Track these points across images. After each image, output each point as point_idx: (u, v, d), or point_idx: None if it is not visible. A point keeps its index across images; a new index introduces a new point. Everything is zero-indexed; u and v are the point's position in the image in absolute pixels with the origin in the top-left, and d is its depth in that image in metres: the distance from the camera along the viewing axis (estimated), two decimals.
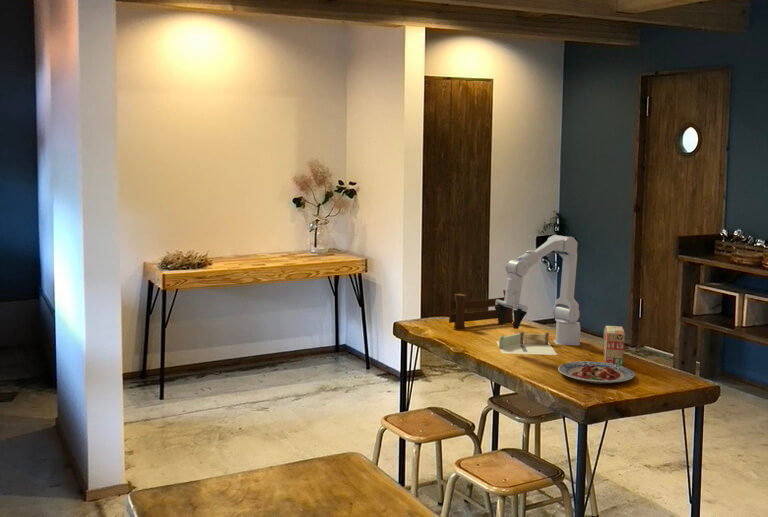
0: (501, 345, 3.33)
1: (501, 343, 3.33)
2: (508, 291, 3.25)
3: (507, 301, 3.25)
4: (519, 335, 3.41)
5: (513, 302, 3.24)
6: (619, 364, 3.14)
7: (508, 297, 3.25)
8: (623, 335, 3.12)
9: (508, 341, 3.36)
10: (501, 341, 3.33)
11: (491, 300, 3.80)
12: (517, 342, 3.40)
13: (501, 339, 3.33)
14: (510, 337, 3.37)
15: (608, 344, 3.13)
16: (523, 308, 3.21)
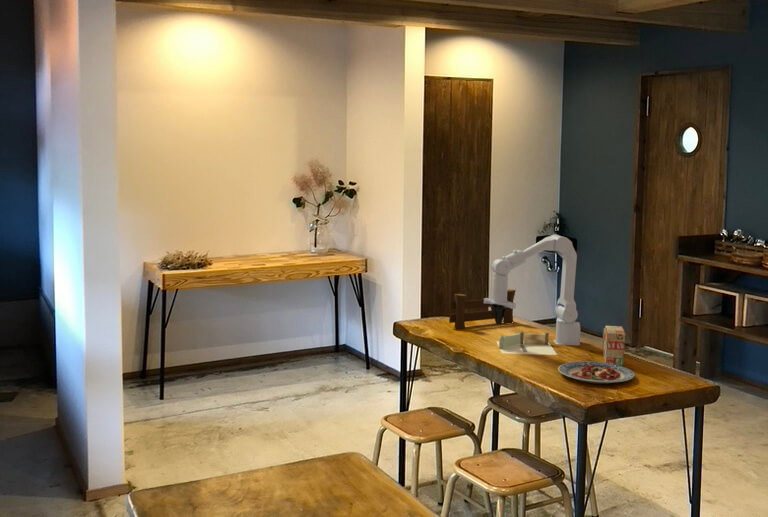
0: (501, 345, 3.33)
1: (501, 343, 3.33)
2: (495, 290, 3.36)
3: (495, 300, 3.36)
4: (519, 335, 3.41)
5: (501, 301, 3.36)
6: (619, 364, 3.14)
7: (496, 296, 3.36)
8: (623, 335, 3.12)
9: (508, 341, 3.36)
10: (501, 341, 3.33)
11: None
12: (517, 342, 3.40)
13: (501, 339, 3.33)
14: (510, 337, 3.37)
15: (608, 344, 3.14)
16: (511, 306, 3.33)
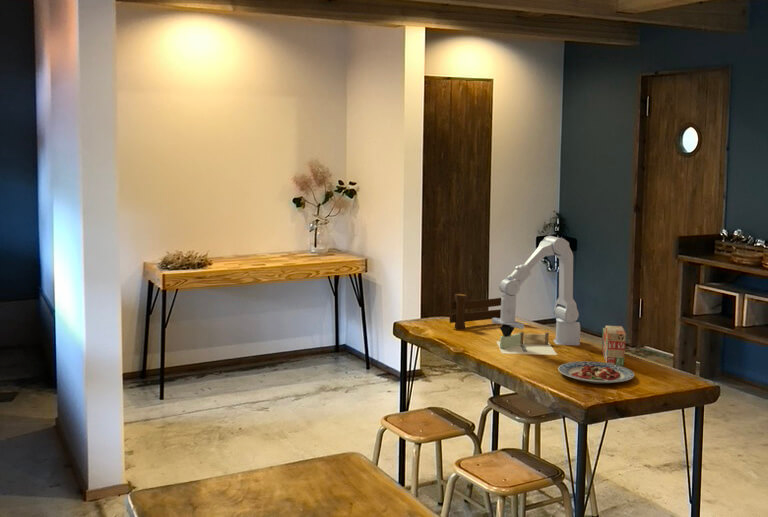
0: (502, 345, 3.33)
1: (502, 343, 3.33)
2: (503, 311, 3.34)
3: (503, 320, 3.34)
4: (519, 335, 3.40)
5: (509, 321, 3.34)
6: (620, 364, 3.14)
7: (504, 316, 3.34)
8: (624, 335, 3.12)
9: (509, 341, 3.36)
10: (502, 341, 3.33)
11: (491, 300, 3.80)
12: (517, 342, 3.40)
13: (502, 339, 3.32)
14: (511, 337, 3.36)
15: (609, 344, 3.14)
16: (520, 326, 3.31)
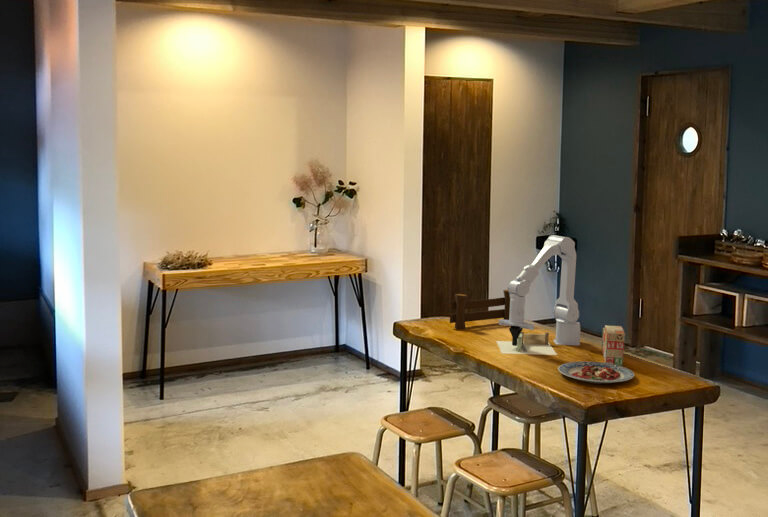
0: (520, 348, 3.30)
1: (520, 345, 3.30)
2: (513, 312, 3.31)
3: (513, 322, 3.32)
4: (522, 335, 3.40)
5: (519, 322, 3.31)
6: (619, 364, 3.14)
7: (514, 318, 3.31)
8: (623, 335, 3.12)
9: None
10: (520, 344, 3.29)
11: (491, 300, 3.80)
12: None
13: (520, 341, 3.29)
14: (521, 338, 3.35)
15: (608, 344, 3.14)
16: (531, 327, 3.29)
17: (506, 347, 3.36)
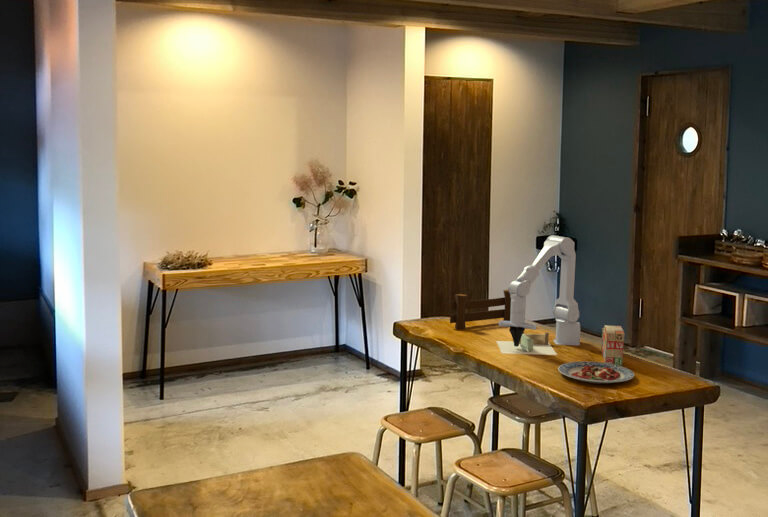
0: (532, 348, 3.30)
1: None
2: (516, 313, 3.30)
3: (516, 322, 3.30)
4: None
5: (522, 322, 3.30)
6: (619, 364, 3.14)
7: (517, 319, 3.30)
8: (623, 335, 3.13)
9: None
10: (532, 344, 3.29)
11: (491, 300, 3.80)
12: None
13: (532, 342, 3.29)
14: None
15: (608, 344, 3.14)
16: (534, 327, 3.30)
17: (506, 347, 3.36)
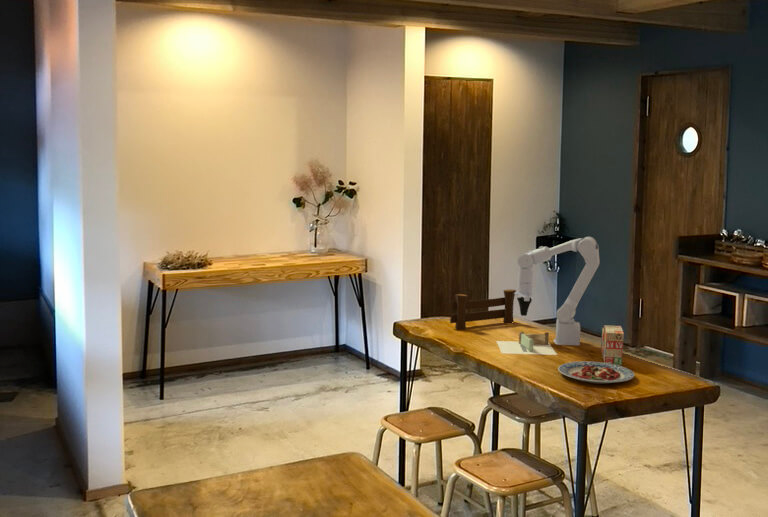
0: (532, 348, 3.30)
1: None
2: (518, 282, 3.49)
3: None
4: None
5: (521, 292, 3.48)
6: (618, 363, 3.15)
7: (518, 288, 3.49)
8: (622, 334, 3.13)
9: None
10: (532, 344, 3.29)
11: (492, 300, 3.80)
12: None
13: (532, 342, 3.29)
14: None
15: (607, 343, 3.14)
16: (524, 298, 3.43)
17: (506, 347, 3.36)
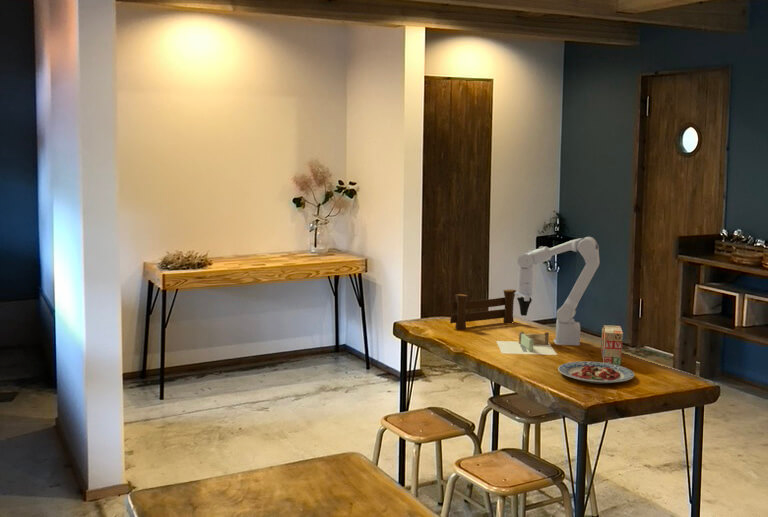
0: (532, 348, 3.30)
1: None
2: (518, 282, 3.49)
3: None
4: None
5: (521, 292, 3.48)
6: (617, 363, 3.15)
7: (518, 288, 3.49)
8: (621, 334, 3.13)
9: None
10: (532, 344, 3.29)
11: (492, 300, 3.80)
12: None
13: (532, 342, 3.29)
14: None
15: (606, 343, 3.14)
16: (524, 298, 3.43)
17: (506, 347, 3.36)
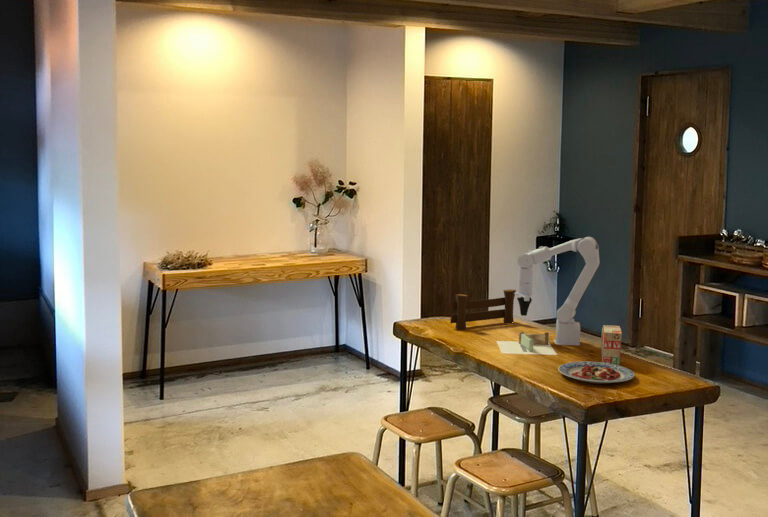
0: (532, 348, 3.30)
1: None
2: (518, 282, 3.49)
3: None
4: None
5: (521, 292, 3.48)
6: (616, 363, 3.15)
7: (518, 288, 3.49)
8: (620, 334, 3.13)
9: None
10: (532, 344, 3.29)
11: (492, 300, 3.80)
12: None
13: (532, 342, 3.29)
14: None
15: (605, 343, 3.15)
16: (524, 298, 3.43)
17: (506, 347, 3.36)
